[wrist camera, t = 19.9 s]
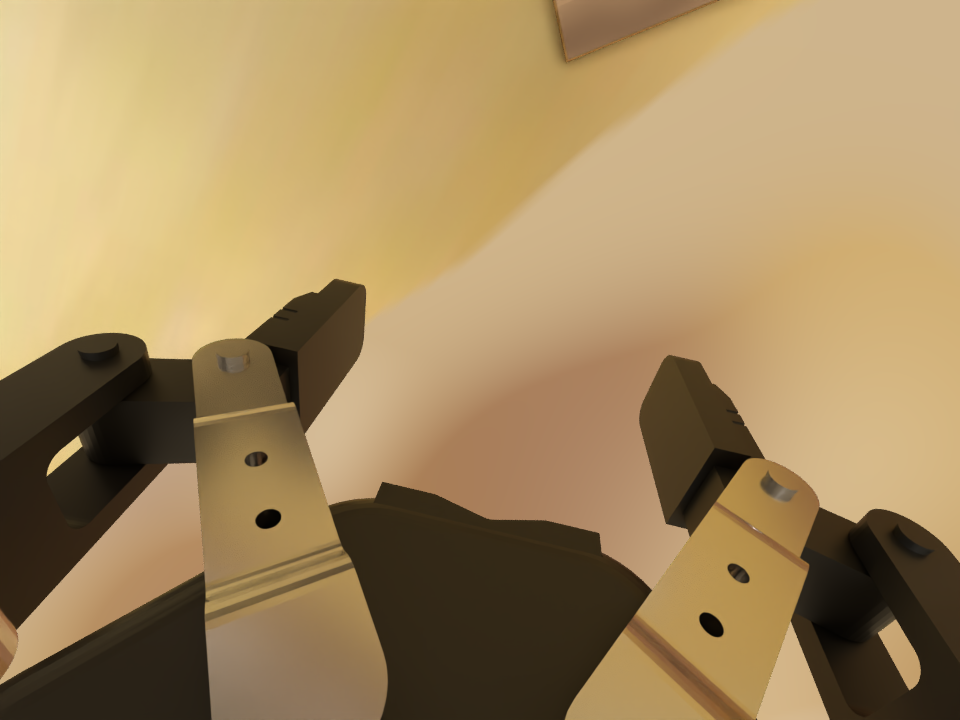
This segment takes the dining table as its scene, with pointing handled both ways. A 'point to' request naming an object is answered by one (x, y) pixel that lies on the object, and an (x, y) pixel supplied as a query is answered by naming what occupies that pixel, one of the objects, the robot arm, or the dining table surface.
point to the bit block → (613, 20)
